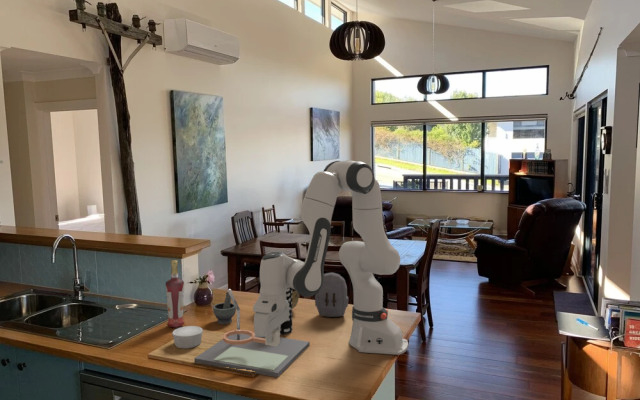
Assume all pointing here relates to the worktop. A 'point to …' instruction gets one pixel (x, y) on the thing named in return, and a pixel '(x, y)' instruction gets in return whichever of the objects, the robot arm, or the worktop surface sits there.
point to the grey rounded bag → (332, 296)
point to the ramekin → (187, 336)
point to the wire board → (254, 355)
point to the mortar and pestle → (224, 310)
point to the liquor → (175, 298)
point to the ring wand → (251, 338)
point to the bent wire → (237, 312)
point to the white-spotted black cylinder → (287, 325)
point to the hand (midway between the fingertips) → (272, 340)
